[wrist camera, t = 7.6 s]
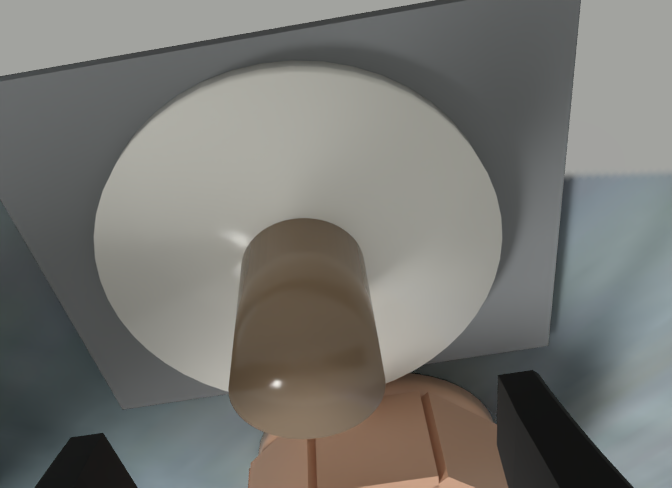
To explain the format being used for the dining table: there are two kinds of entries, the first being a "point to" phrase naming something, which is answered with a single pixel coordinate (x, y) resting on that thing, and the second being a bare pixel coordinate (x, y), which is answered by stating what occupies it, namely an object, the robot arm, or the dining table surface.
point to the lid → (298, 239)
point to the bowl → (394, 445)
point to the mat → (305, 45)
